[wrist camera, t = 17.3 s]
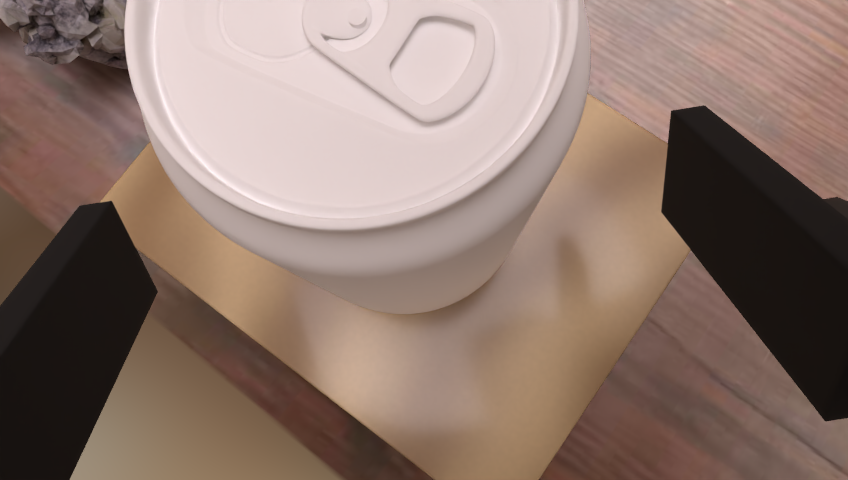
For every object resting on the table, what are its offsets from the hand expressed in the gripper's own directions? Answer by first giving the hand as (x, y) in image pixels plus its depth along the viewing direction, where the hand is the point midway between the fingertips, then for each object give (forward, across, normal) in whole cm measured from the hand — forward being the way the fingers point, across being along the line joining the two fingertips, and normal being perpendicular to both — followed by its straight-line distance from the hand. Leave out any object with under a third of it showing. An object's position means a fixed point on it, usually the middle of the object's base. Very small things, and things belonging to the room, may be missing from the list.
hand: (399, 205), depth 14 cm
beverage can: (+6, 0, -3) cm, 7 cm away
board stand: (+13, 0, -10) cm, 16 cm away
